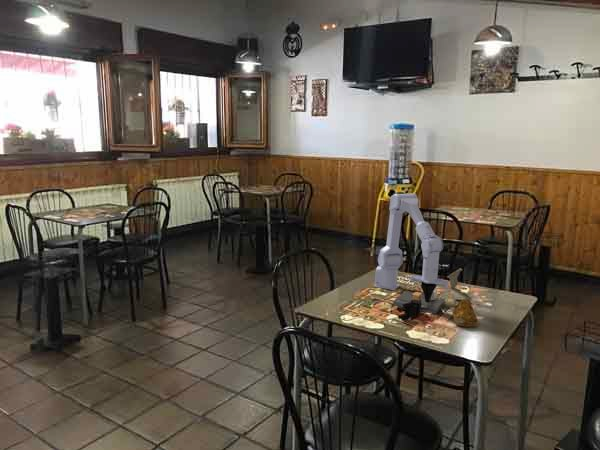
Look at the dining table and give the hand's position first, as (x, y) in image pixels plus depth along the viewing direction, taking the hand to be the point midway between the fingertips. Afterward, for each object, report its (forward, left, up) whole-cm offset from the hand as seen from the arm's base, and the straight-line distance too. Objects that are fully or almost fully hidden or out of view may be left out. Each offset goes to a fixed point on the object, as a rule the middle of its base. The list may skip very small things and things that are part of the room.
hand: (427, 301), depth 187 cm
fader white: (0, +8, -1) cm, 8 cm away
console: (-4, +4, -3) cm, 7 cm away
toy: (-4, -12, -3) cm, 13 cm away
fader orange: (-4, 0, -1) cm, 4 cm away
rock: (+15, -6, -3) cm, 16 cm away
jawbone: (+6, +23, -3) cm, 24 cm away
